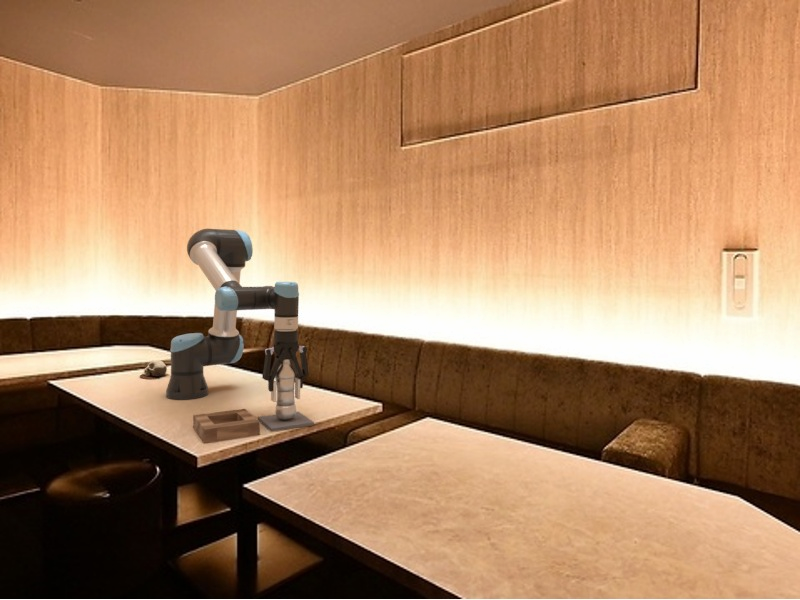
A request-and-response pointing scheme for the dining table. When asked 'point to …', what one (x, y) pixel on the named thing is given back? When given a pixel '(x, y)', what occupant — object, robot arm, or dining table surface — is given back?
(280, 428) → the charcoal mat
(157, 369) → the skull
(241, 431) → the walnut block
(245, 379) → the dining table surface
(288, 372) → the plastic bottle
